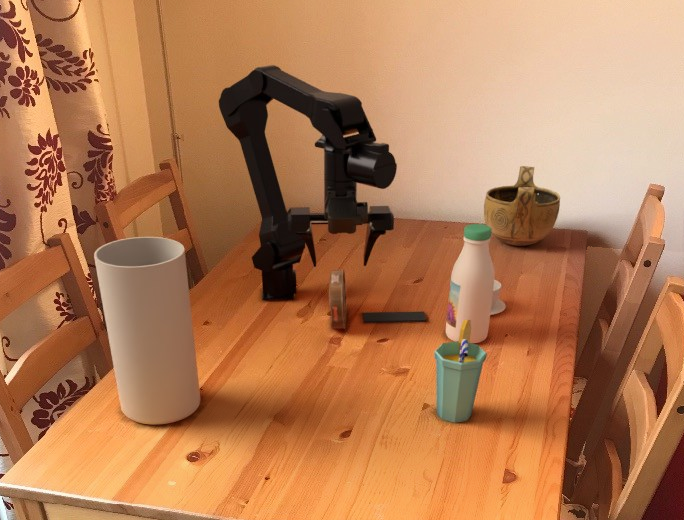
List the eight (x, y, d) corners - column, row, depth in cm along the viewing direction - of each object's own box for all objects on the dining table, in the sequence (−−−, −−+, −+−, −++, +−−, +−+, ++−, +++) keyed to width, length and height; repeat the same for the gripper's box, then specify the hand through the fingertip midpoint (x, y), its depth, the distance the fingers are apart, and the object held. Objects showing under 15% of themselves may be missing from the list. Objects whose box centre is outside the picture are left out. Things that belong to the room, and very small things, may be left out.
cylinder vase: (114, 396, 129) (86, 243, 114) (188, 381, 133) (171, 232, 118) (131, 433, 120) (103, 272, 105) (210, 416, 124) (194, 259, 109)
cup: (481, 442, 117) (494, 349, 109) (429, 439, 118) (437, 347, 109) (477, 396, 129) (488, 308, 120) (429, 393, 129) (436, 306, 120)
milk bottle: (492, 331, 148) (506, 223, 136) (480, 348, 143) (494, 236, 131) (452, 324, 151) (462, 217, 139) (439, 340, 145) (449, 230, 134)
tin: (344, 336, 147) (345, 293, 142) (327, 336, 147) (327, 292, 142) (346, 304, 159) (347, 262, 154) (331, 303, 159) (331, 262, 154)
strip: (363, 322, 152) (363, 320, 151) (362, 314, 155) (362, 312, 155) (426, 321, 152) (426, 319, 152) (423, 313, 155) (423, 311, 155)
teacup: (474, 293, 163) (477, 271, 160) (515, 306, 157) (518, 284, 155) (444, 307, 157) (446, 284, 155) (485, 321, 152) (488, 298, 149)
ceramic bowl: (553, 260, 178) (565, 191, 169) (477, 255, 181) (484, 187, 172) (552, 229, 195) (563, 165, 187) (482, 224, 198) (490, 161, 190)
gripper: (286, 191, 131) (289, 283, 140) (399, 189, 131) (394, 281, 141) (286, 173, 140) (289, 260, 149) (392, 172, 140) (388, 259, 150)
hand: (339, 265), depth 147 cm, fingers open, 9 cm apart
